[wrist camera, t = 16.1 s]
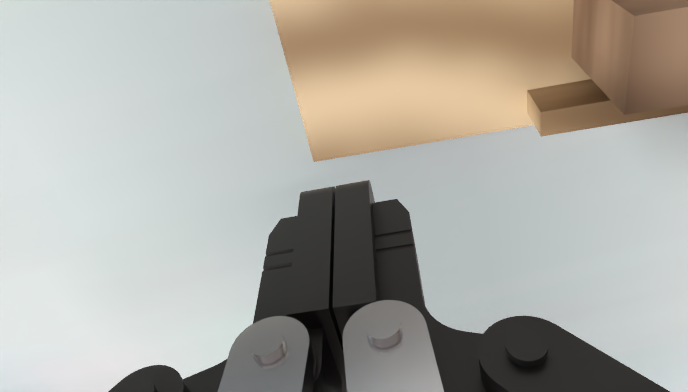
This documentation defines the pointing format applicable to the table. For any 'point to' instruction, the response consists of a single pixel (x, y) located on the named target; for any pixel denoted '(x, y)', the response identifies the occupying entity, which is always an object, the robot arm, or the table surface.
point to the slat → (634, 51)
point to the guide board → (436, 71)
